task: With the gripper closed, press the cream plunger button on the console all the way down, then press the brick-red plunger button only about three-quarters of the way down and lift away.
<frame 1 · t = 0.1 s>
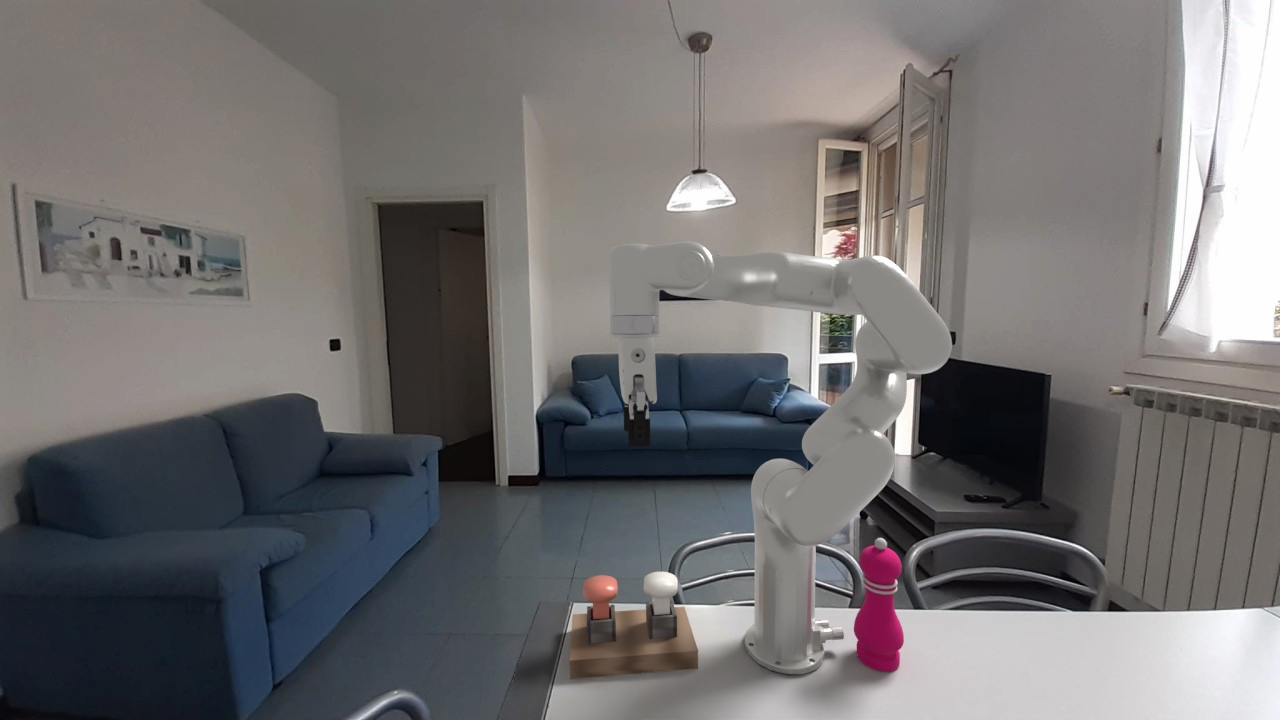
hand: (636, 437, 78), 37 cm above the table, tool pointing down, fingers open, 9 cm apart
cream button: (660, 595, 84), point 9 cm above the table, slide at 0.0 cm
console: (631, 648, 84), on the table
red button: (600, 599, 83), point 9 cm above the table, slide at 0.0 cm
pepper mill: (877, 659, 81), on the table
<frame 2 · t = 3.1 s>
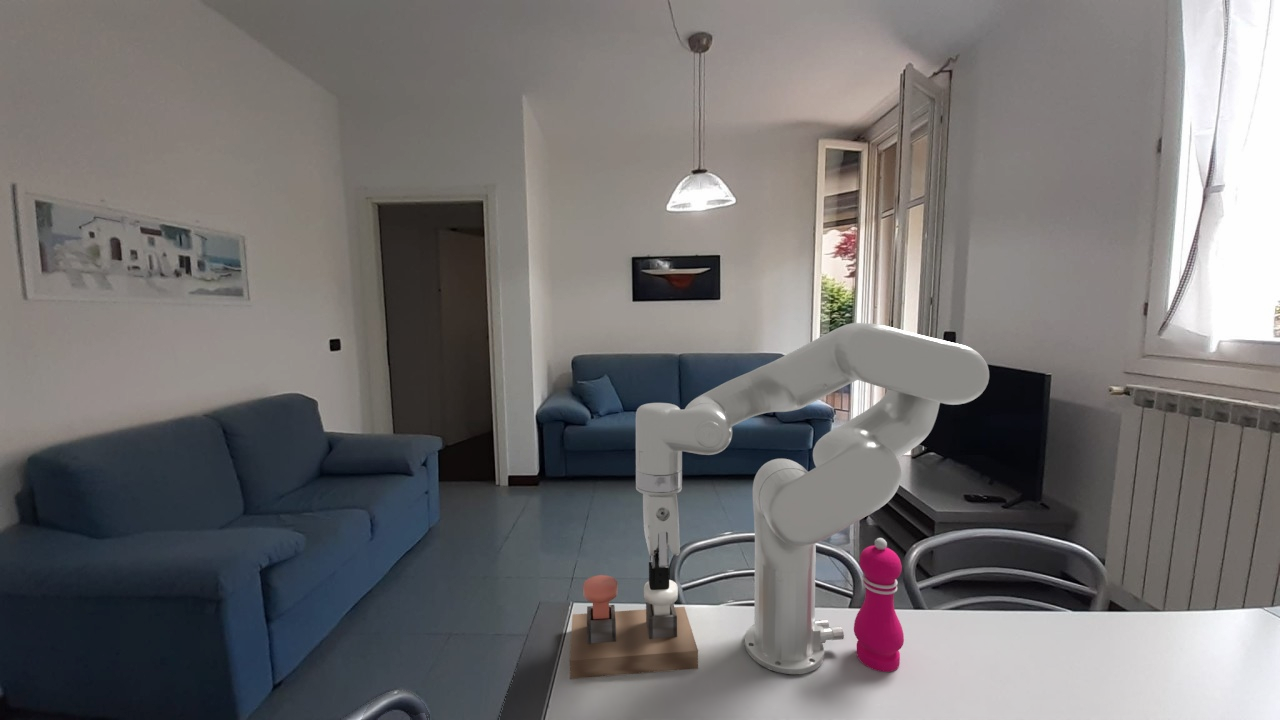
hand: (658, 586, 84), 10 cm above the table, tool pointing down, fingers closed
cream button: (660, 601, 84), point 8 cm above the table, slide at 1.2 cm, touching gripper
everything else where it was.
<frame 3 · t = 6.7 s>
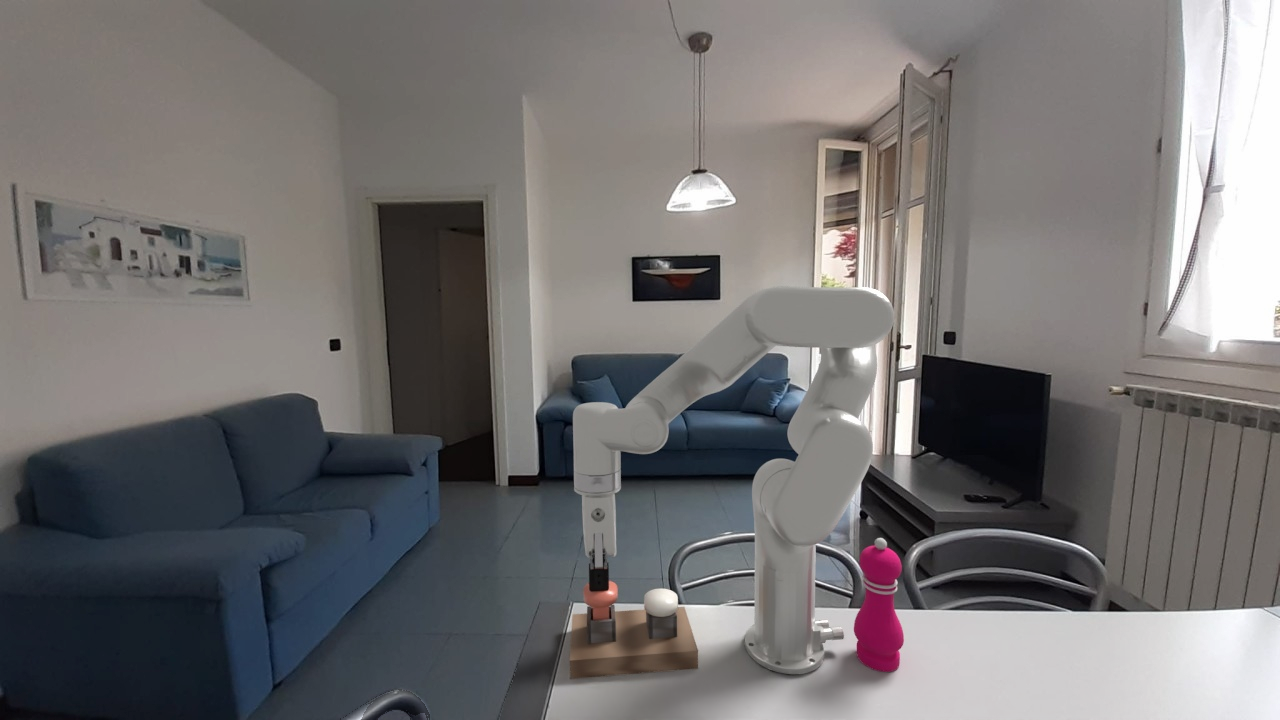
hand: (599, 588, 83), 11 cm above the table, tool pointing down, fingers closed
cream button: (661, 612, 84), point 6 cm above the table, slide at 3.0 cm
red button: (600, 603, 83), point 8 cm above the table, slide at 0.8 cm, touching gripper
everything else where it was.
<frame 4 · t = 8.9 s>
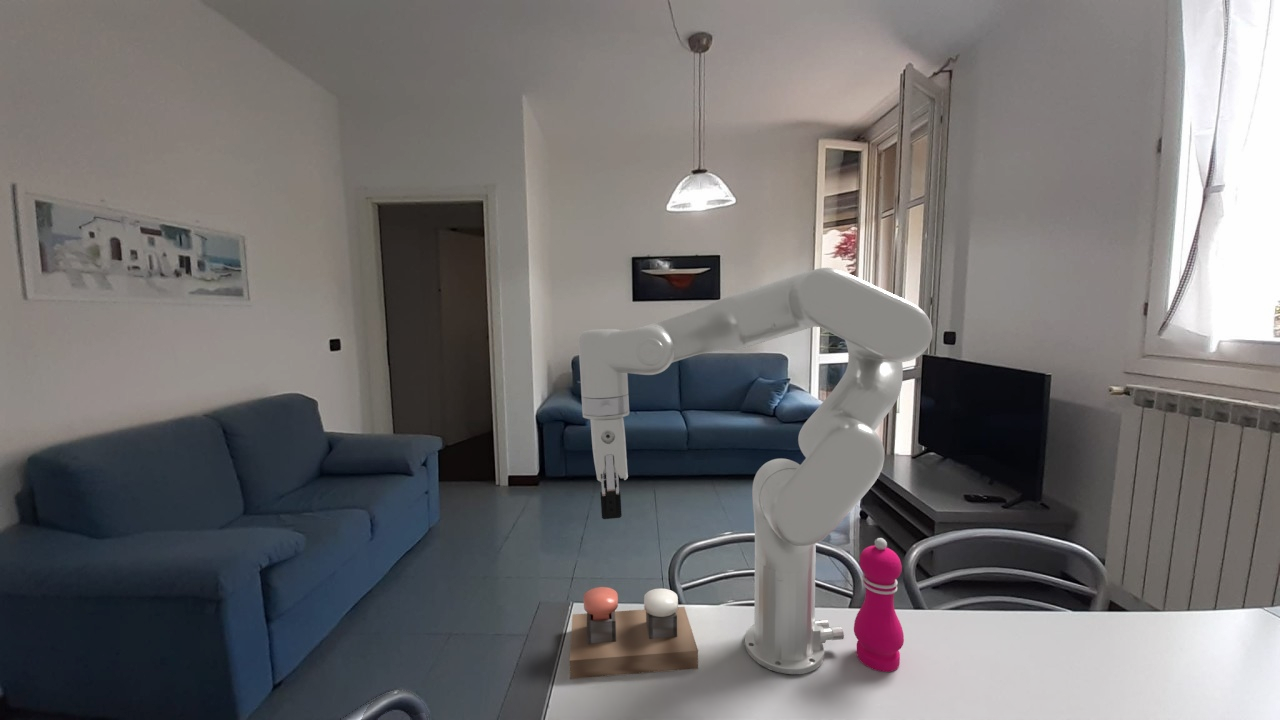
hand: (611, 516, 82), 23 cm above the table, tool pointing down, fingers closed
red button: (600, 611, 83), point 7 cm above the table, slide at 2.1 cm
everything else where it was.
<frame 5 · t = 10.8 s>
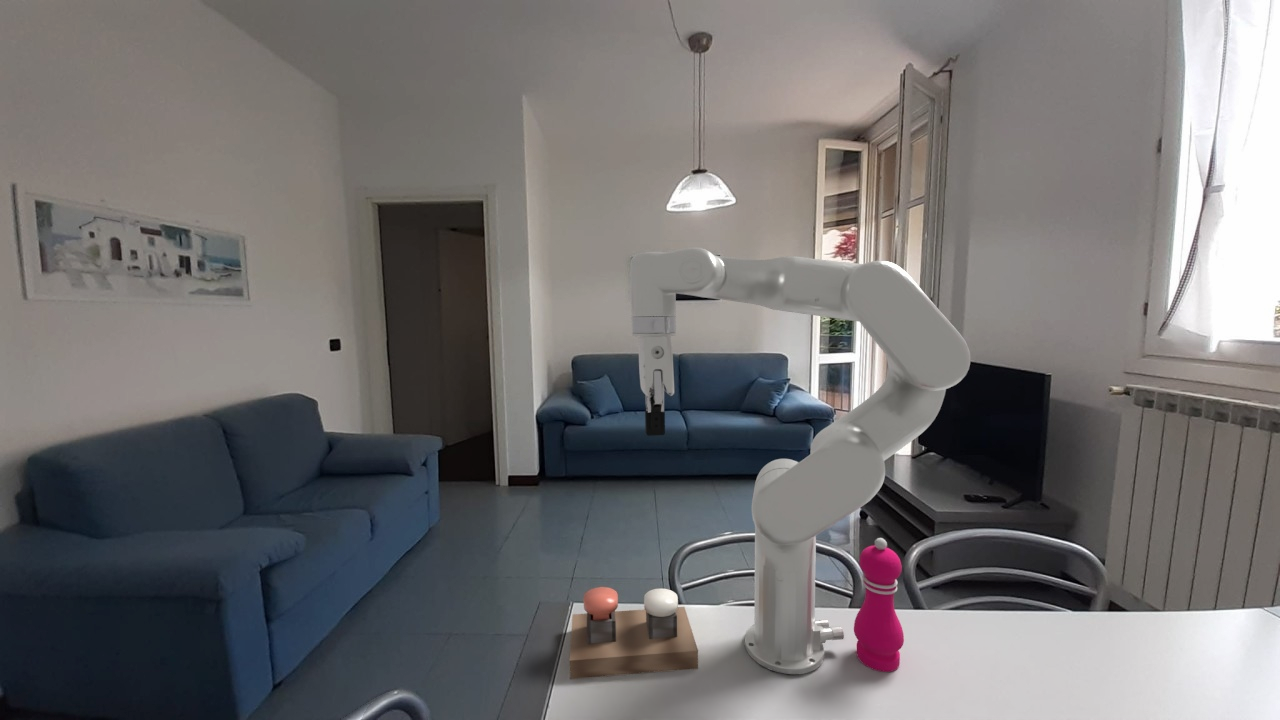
hand: (655, 434, 86), 35 cm above the table, tool pointing down, fingers closed
nothing on the table moved.
at the end: cream button slide at 3.0 cm; red button slide at 2.1 cm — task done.
